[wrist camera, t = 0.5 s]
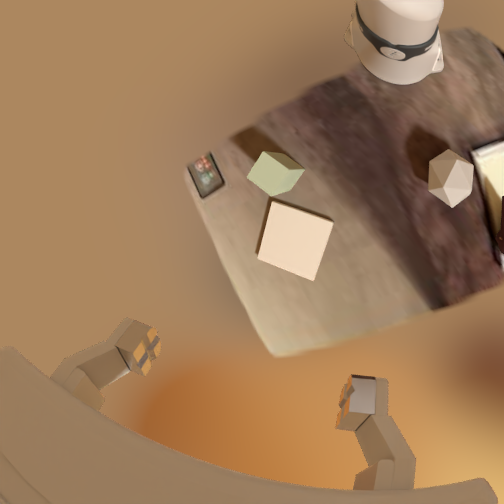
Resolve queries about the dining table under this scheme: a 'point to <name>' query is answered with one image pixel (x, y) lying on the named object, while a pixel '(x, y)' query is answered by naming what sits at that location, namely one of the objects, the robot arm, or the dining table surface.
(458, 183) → the die
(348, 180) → the dining table surface
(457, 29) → the dining table surface
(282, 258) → the cream tile
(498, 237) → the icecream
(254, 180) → the green block
